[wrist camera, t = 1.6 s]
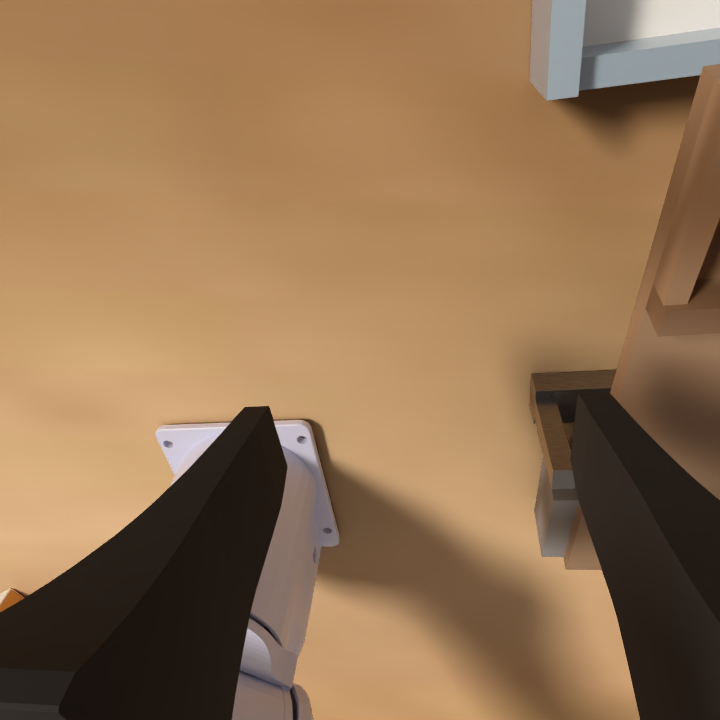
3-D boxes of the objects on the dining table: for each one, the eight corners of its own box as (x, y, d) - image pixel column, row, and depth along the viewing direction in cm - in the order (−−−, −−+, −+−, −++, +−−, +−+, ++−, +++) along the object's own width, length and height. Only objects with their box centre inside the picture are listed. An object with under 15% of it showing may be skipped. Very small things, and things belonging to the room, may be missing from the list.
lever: (678, 509, 26) (708, 593, 24) (534, 510, 28) (547, 590, 25) (983, -23, 11) (1178, 50, 8) (612, 30, 12) (671, 110, 9)
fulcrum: (713, 398, 23) (776, 493, 19) (529, 405, 24) (550, 496, 20) (724, 364, 22) (793, 457, 18) (531, 373, 23) (554, 462, 19)
